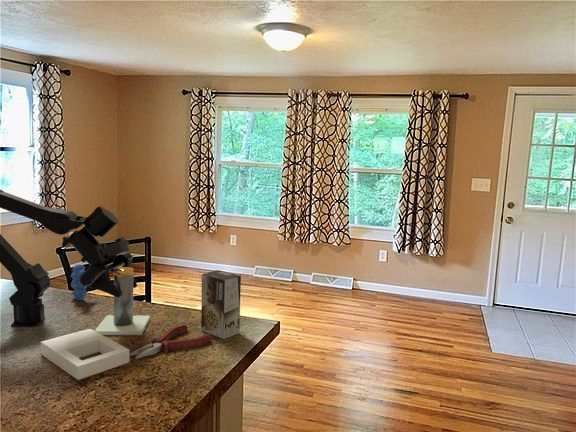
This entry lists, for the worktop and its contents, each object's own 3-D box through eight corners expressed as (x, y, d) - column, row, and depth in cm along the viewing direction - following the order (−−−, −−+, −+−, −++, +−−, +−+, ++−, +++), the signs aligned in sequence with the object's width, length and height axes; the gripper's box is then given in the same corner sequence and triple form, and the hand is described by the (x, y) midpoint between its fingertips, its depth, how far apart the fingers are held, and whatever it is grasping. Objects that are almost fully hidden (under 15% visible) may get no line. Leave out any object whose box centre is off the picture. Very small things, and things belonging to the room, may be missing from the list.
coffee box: (240, 333, 128) (242, 275, 126) (223, 339, 123) (224, 279, 121) (217, 324, 134) (218, 269, 131) (199, 330, 129) (200, 273, 126)
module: (117, 327, 126) (117, 272, 124) (111, 321, 130) (111, 268, 128) (135, 323, 129) (136, 270, 127) (129, 318, 133) (129, 266, 131)
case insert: (41, 354, 110) (40, 341, 110) (90, 339, 119) (90, 328, 119) (78, 380, 99) (77, 366, 99) (129, 362, 108) (129, 349, 108)
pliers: (117, 354, 113) (117, 343, 113) (184, 331, 129) (184, 322, 128) (146, 369, 106) (146, 358, 106) (212, 343, 122) (213, 334, 122)
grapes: (98, 303, 147) (98, 265, 146) (75, 306, 143) (75, 268, 142) (88, 293, 156) (88, 258, 155) (66, 296, 152) (66, 260, 151)
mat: (94, 335, 123) (94, 331, 122) (106, 318, 134) (106, 315, 134) (141, 335, 124) (141, 331, 124) (150, 318, 136) (150, 315, 136)
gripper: (89, 235, 117) (131, 281, 117) (126, 224, 135) (162, 264, 135) (61, 263, 119) (102, 309, 119) (101, 249, 138) (136, 289, 137)
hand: (128, 291), depth 128 cm, fingers open, 9 cm apart
